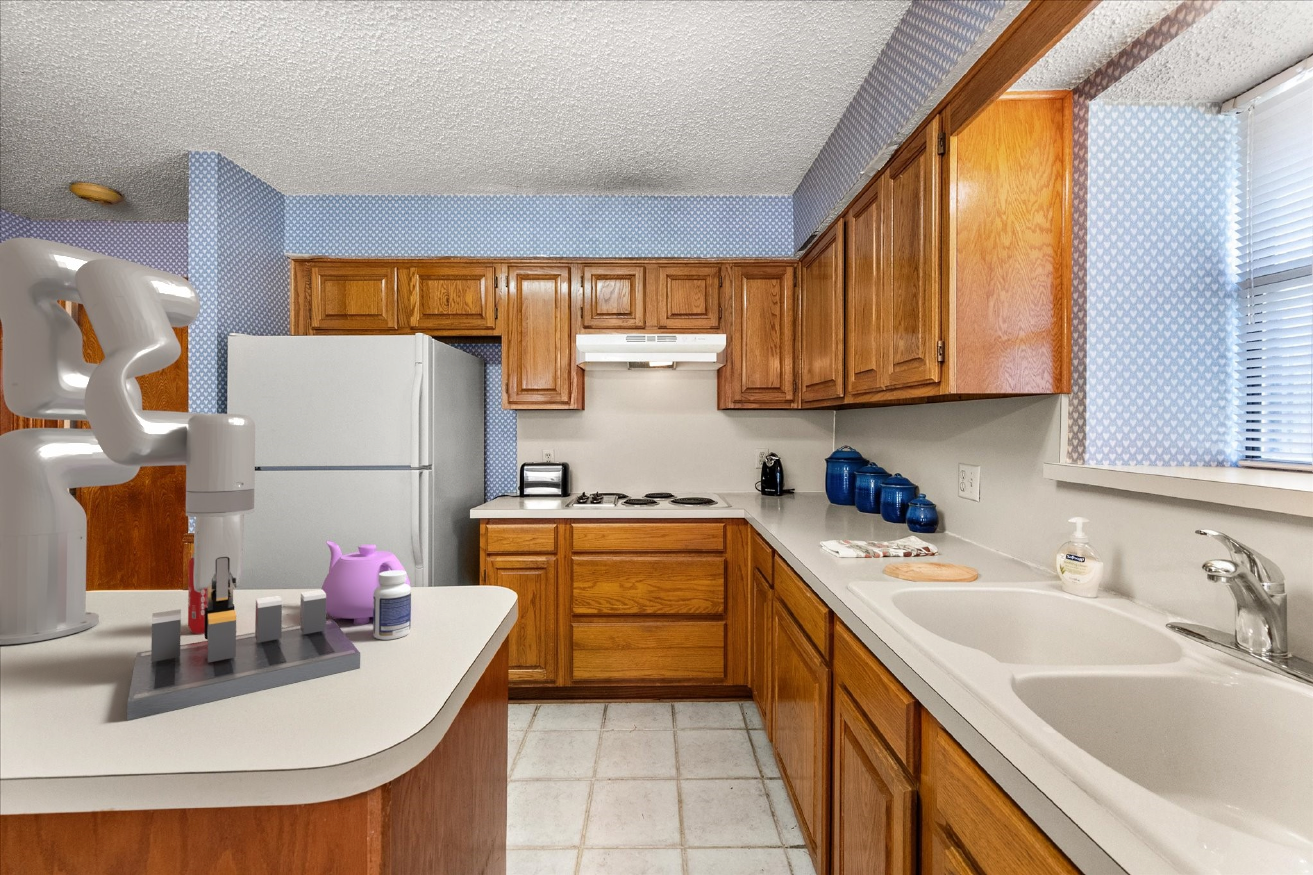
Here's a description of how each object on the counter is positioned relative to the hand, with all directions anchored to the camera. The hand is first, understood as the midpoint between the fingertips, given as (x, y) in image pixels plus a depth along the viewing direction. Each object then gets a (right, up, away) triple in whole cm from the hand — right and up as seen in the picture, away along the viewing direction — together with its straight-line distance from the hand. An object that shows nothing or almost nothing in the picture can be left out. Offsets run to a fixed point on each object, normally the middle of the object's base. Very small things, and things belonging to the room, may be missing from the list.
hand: (219, 635), depth 79 cm
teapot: (+9, -4, +21) cm, 23 cm away
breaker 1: (-3, -1, -5) cm, 6 cm away
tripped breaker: (+4, -1, -5) cm, 6 cm away
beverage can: (-11, -3, +12) cm, 17 cm away
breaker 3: (+9, -1, +6) cm, 11 cm away
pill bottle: (+19, -4, +11) cm, 22 cm away
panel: (+6, -4, -2) cm, 7 cm away
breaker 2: (+5, -1, +2) cm, 6 cm away
